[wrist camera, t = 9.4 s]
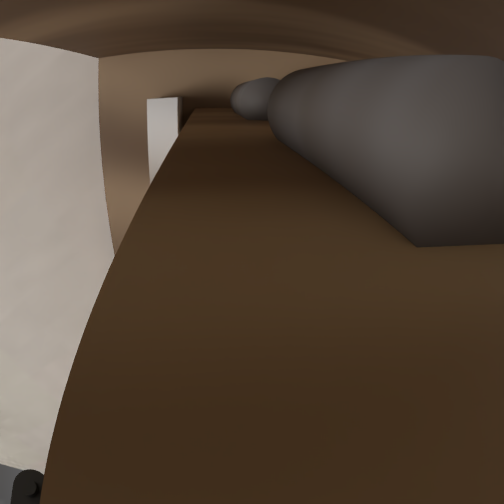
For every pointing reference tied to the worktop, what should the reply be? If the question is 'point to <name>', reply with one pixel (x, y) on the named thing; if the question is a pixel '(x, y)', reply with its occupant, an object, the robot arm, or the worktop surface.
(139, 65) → the hinge base
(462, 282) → the oak door
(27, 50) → the worktop surface
